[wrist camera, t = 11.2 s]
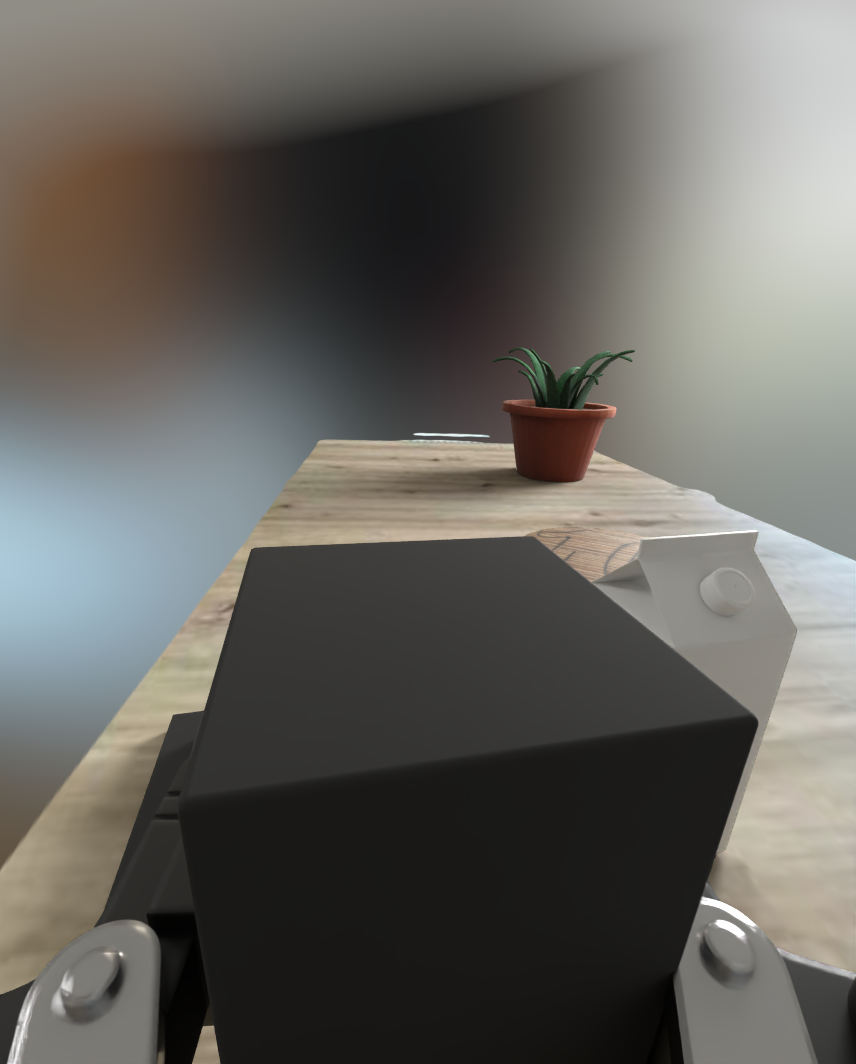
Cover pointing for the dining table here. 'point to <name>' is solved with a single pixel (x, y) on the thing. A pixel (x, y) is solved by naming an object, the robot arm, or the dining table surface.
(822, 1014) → the robot arm
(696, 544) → the milk carton
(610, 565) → the trivet
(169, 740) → the base pad
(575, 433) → the potted plant
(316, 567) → the block
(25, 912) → the dining table surface
